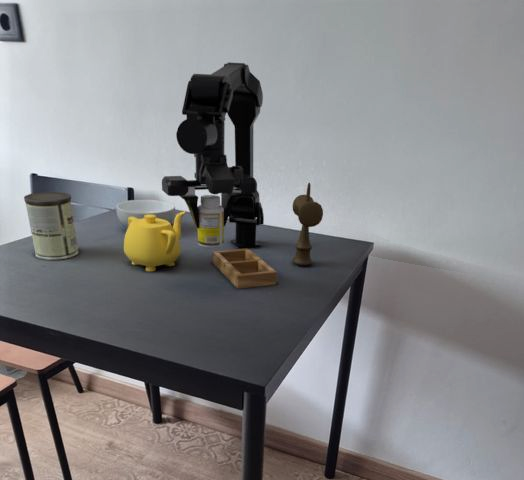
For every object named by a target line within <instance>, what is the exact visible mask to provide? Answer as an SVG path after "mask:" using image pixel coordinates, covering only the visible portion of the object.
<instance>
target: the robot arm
mask: <svg viewBox="0 0 524 480" xmlns="http://www.w3.org/2000/svg"><path fill="white" fill-rule="evenodd" d="M263 99H264V94H263V89H262V85H261V81H260V80H259V79H258V78H257V76H255V75H254V74H253V73H252V72H251V70H250V66H249V64H246V63H245V62H227V63H224V65H223V66H222V67H221V68H219V69H217V70H216V71H214V72H212V73H211V74H209V73H207V74H206V73H193V74H192V75H191V77H190V80H188V82H187V86H186V91H185V96H184V100H183V105H182V109H181V110H182V111H181V114H182V115H184V116H186V119H184V120H182V121H181V122H180V123H179V125H178V127H177V130H176V132H175V133H176V137H175V138H176V141H177V144H178V146H179V147H180V149H181V150H182V151H183V152H185V153H186V154H190V155H193V158H195V172H194V179H186V178H185V177H183V176H181V175H166V176H165V175H164V176H163V178H162V179H161V190H162V192H164V194H166V195H167V196H168V197H180V198H181V199H182V200H184V202H185V204H186V205H187V209H188V210H189V213H190V216H191V218H192V221H193V224H194V226H195V228H196V229H198V228H199V215H198V206H199V205H198V202H199V196H198V195H197V194H196V191H203V190H204V191H205V190H207V191H208V193H210V195H219V194H220V205H221V206H222V207H223V208H224V227H225V226H226V225H227V222H228V221H229V223H230V224H231V223H233V224H234V223H235V237H234V238H235V239H231V240H230V242H231V243H232V244H233V245H234V246H236V247H237V249H247V248H255V247H258V248H259V247H261V244H260V243H259V242H258V241H257V226H258V227H259V226H262V225H264V222H265V214H264V209H263V206H262V202H261V201H260V200H261V199H260V193H259V191H258V182H257V179H256V178H255V177H254V124H255V123H256V121H257V119H258V117H259V115H260V113H261V108H262V106H263V101H264V100H263ZM226 116H228V118H229V120H230V122H231V123H232V125H233V127H234V157H235V158H234V163H235V165H232V166H229V165H228V158H227V154H226V153H225V132H226V131H225V130H226V129H225V127H226V126H225V121H226ZM229 223H228V224H229Z"/></svg>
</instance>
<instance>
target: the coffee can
mask: <svg viewBox="0 0 524 480" xmlns="http://www.w3.org/2000/svg"><path fill="white" fill-rule="evenodd" d="M71 199H72V196H71V194H69V193H66V192H61V191H40V192H39V191H38V192H33V193H29V194H26V195H24V196H23V200H24V202H25V207H26V208H25V209H26V212H27V217H28V223H29V229H30V232H31V233H30V234H31V238H32V243H33V248H34V255H35V257H36V258H38V259H40V260H44V261H45V260H46V261H58V260H66V259H71V258H73V257H76V256H77V255H78V254H79V253H80V252H79V251H80V250H79V247H78V246H79V245H78V239H77V233H76V227H75V219H74V212H73V206H72V202H71Z"/></svg>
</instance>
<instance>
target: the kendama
mask: <svg viewBox="0 0 524 480" xmlns="http://www.w3.org/2000/svg"><path fill="white" fill-rule="evenodd" d="M306 186H307V187H306V194H300V195H297V196H296V197H295V198H294V200H293V202H292V212H293V214H294V215H295V216H297V218H298V221H299V223H300V224H301V229H300V234H299V237H298V241H297V242H296V243H295V244H294V247H295V249H296V250H295V255H294V257H293V258H292V263H293V264H294V265H296V266H299V267H300V266H301V267H305V266H306V267H307V266H311V265H312V264H313V260H312V258H311V250H312V249H313V245H312V244H311V240H310V228H313V227H316V226H318V225H319V224H320V223H321V222H322V220H323V217H324V209H323V206H322V205H321V204H320V203H319V202H317V201H315V200H314V198H313V197H312V196H311V183H310V182H308V183H307V185H306Z"/></svg>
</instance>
